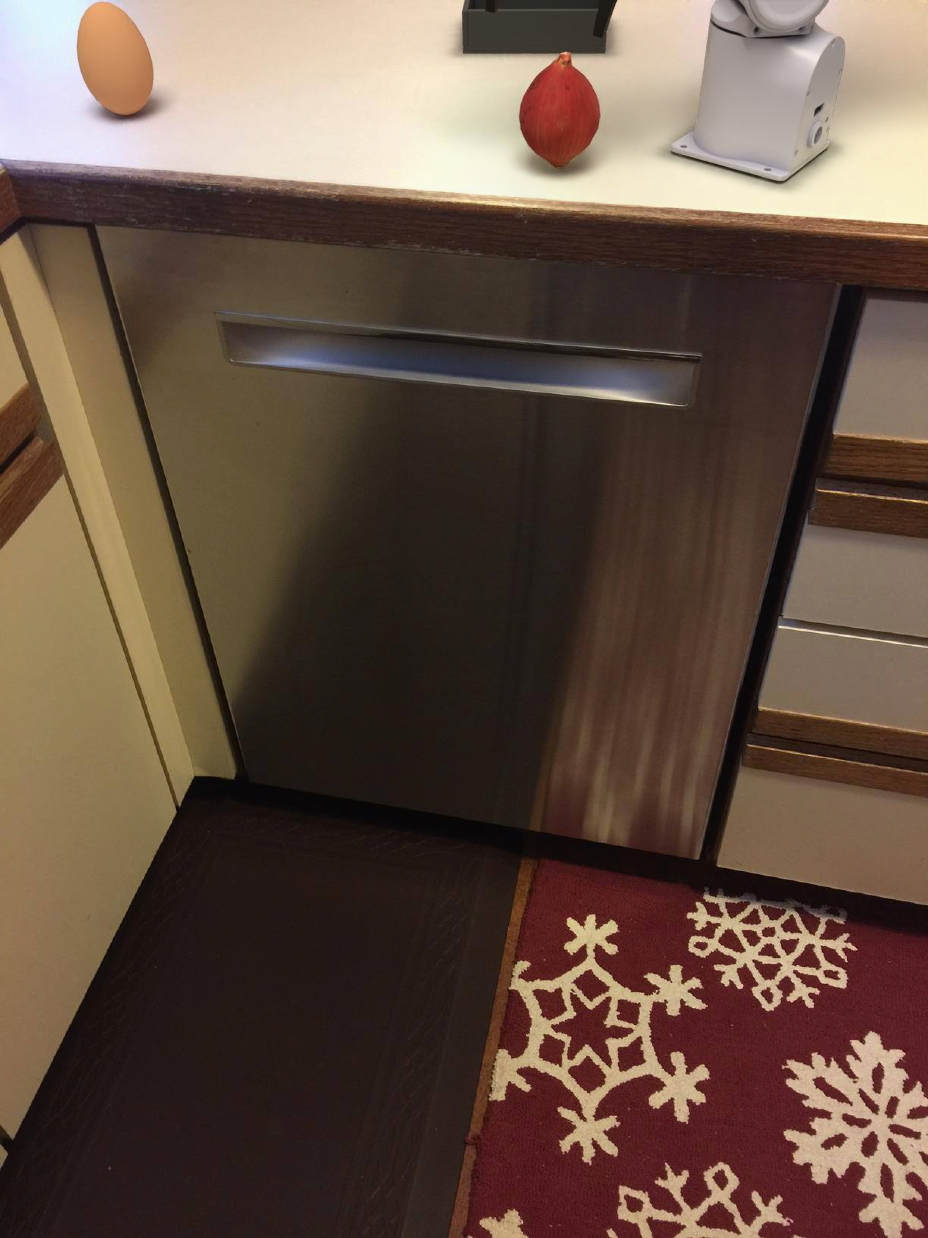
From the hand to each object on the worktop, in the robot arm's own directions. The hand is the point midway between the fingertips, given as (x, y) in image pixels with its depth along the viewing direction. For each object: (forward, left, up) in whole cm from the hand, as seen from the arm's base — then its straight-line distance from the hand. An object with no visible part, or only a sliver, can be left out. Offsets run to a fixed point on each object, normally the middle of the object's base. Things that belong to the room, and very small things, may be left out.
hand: (546, 20), depth 71 cm
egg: (+34, +12, -10) cm, 37 cm away
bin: (+16, -22, -10) cm, 29 cm away
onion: (-1, 0, -10) cm, 10 cm away
